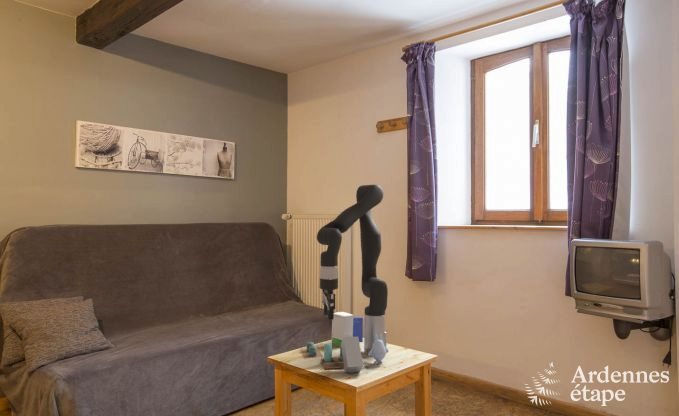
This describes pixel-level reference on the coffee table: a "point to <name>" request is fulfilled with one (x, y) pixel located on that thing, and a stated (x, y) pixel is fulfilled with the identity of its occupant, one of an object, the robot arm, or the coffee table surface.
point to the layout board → (311, 351)
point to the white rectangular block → (351, 354)
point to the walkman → (358, 328)
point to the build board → (334, 362)
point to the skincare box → (341, 327)
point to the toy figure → (378, 350)
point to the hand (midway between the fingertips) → (328, 317)
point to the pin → (327, 353)
